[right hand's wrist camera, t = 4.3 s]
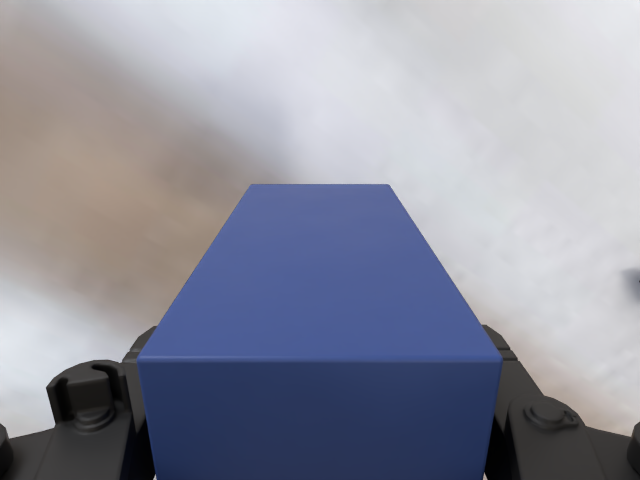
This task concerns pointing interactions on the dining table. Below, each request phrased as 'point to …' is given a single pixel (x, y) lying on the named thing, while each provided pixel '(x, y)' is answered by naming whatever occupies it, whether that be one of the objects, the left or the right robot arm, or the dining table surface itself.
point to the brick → (319, 349)
